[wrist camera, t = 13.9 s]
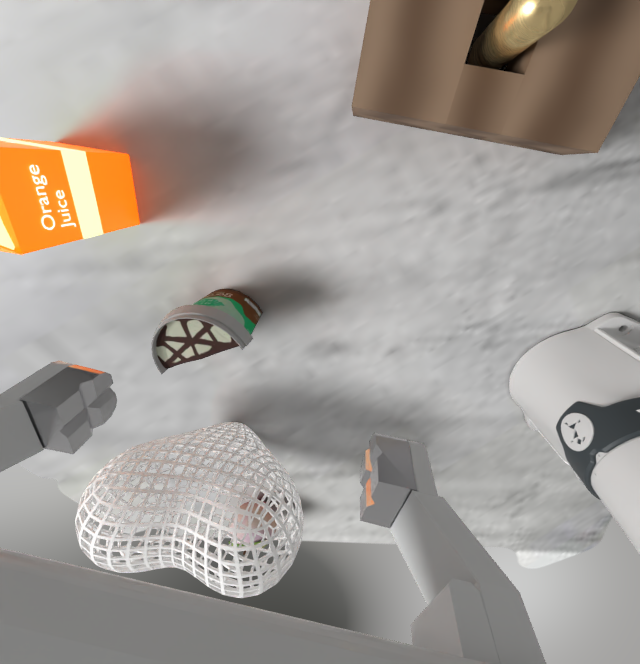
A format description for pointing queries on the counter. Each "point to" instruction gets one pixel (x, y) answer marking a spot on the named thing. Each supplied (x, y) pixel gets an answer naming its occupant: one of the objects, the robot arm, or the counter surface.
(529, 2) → the peg
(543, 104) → the hole block
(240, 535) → the decorative fruit
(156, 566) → the heart
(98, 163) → the orange juice
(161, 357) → the food container
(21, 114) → the counter surface
